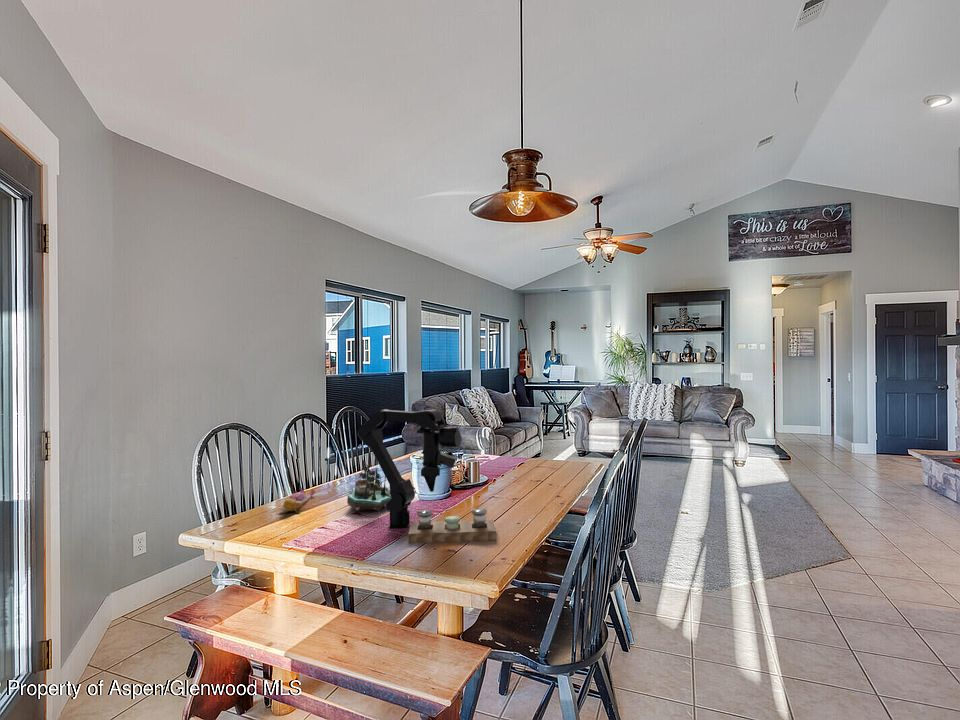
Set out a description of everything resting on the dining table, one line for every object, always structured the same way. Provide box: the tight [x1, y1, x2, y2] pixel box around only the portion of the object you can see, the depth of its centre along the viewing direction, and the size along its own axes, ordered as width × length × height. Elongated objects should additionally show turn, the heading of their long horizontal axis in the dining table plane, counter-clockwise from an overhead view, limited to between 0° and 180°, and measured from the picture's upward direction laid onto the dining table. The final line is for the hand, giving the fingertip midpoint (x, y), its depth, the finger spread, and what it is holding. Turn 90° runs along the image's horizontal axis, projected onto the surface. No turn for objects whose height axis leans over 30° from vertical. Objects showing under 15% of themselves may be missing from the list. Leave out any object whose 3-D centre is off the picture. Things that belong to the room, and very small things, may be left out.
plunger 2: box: [471, 507, 488, 526], centre depth 176 cm, size 5×5×5 cm
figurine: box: [277, 489, 316, 515], centre depth 214 cm, size 12×7×30 cm
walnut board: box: [407, 519, 497, 544], centre depth 176 cm, size 28×12×3 cm, turn 92°
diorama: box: [346, 463, 392, 512], centre depth 213 cm, size 19×25×19 cm
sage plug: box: [444, 515, 461, 529], centre depth 176 cm, size 5×5×5 cm
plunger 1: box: [416, 509, 433, 528], centre depth 175 cm, size 5×5×5 cm
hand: (431, 491), depth 183 cm, fingers closed
